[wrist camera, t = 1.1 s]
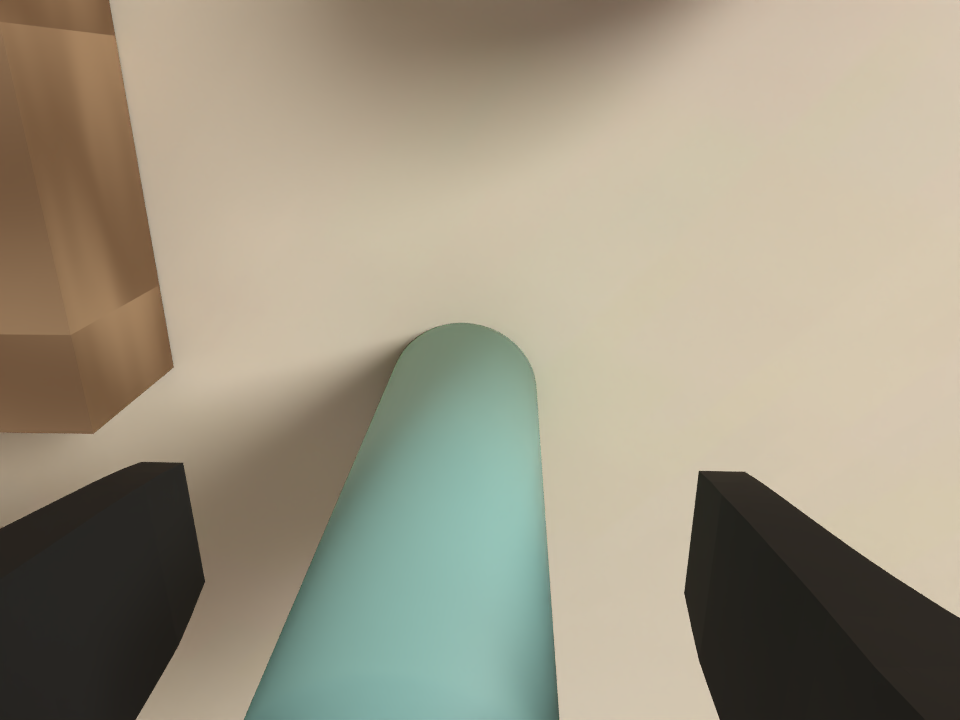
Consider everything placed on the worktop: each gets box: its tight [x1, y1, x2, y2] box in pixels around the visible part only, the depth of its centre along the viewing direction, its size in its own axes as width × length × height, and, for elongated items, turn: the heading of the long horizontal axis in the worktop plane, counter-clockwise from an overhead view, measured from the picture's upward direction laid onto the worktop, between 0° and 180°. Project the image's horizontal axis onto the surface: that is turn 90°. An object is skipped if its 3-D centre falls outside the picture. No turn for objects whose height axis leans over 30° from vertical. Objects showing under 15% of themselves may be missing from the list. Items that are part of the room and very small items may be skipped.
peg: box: [244, 323, 559, 720], centre depth 10 cm, size 3×3×9 cm
